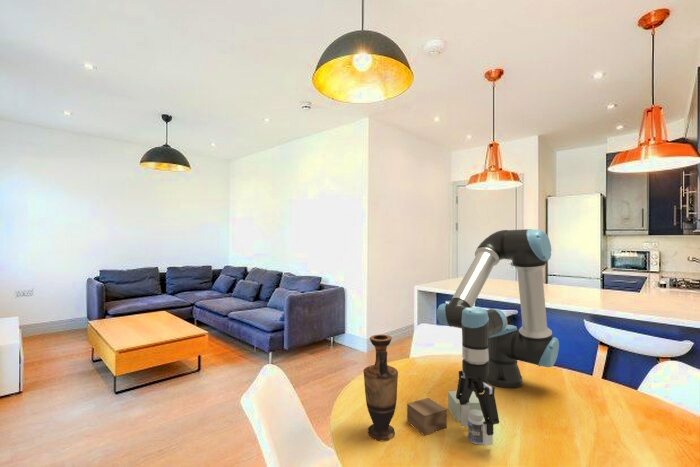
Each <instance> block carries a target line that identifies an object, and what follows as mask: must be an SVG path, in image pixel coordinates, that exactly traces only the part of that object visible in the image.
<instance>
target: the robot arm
mask: <svg viewBox="0 0 700 467" xmlns="http://www.w3.org/2000/svg"><path fill="white" fill-rule="evenodd" d="M551 244H552V243H551V241H550V237H549V236H548V235H547V233H546V232H545V231H544V230H542V229H532V228H530V229H529V228H527V229H525V228H524V229H502V230H497V231H495V232H493V233H491V234H490V235H489V236H487V237H486V238H484V240H482V241H481V242H480V244H479V245H478V246H477V247H476V250H475V251H474V256H475V257H474V258H473V260H472V262H471V264H470V266H469V268H468V269H467V271H466V273H465V274H464V276H463V278H462V280H461V282H459V285H458V287H457V288H456V289H455V292H454V294H453V296H452V298H451V299H450V301H449V302H448V303H447V302H446V303H441V304H439V305H438V308H437V309H436V319H437V321H438V323H439V324H442V325H445V326H447V327H451V328H457V329H461V337H462V338H461V339H462V340H461V341H462V342H461V346H462V349H461V350H462V351H461V353H462V356H461V357H462V361H461V364H462V370H459V371H458V381H457V388H456V391H457V393H456V398H457V399H459V402H460V404H461V421H460V424H461V427H468V417H469V411H470V404H467V403H469V399H470V397H471V394H472V392H474V393H475V395H476V397H477V398H478V400H479V403H480V406H481V410H482V413H483V419H484V422H483V444H482V445H483V446H484V447H486V446H491V445H493V444H494V438H493V437H494V436H493V435H494V425H498V424H500V418H499V414H498V413H499V412H498V408H497V402H496V396H495V387H494V386H496V387H499V388H500V387H501V388H504V389H505V388H506V389H508V388H509V389H512V388H513V389H514V388H519V387H521V386H523V377H522V374H521V371H520V367H519V365H518V361H519V362H523V363H528V364H532V365H536V366H538V367H544V368H551V367H553V366H554V364H556V361H557V359H558V355H559V351H560V350H559V349H560V341H559V339H558V338H557V337H555V336H554V337H553V331H552V329H550V328H549V327H548V322H547V310H546V308H547V307H546V299H545V289H544V287H545V286H544V276H543V268H544V267H545V266H546V265H547V261H549V260H550V259H551V256H552V245H551ZM502 260H511V264H512V266H513V267H514V268H515V269H516V271H517V272H516V273H517V281H518V294H519V302H520V313H521V327H520V328H519V329H518V328H517V325H514V324H508V318H507V316H506V314H505V313H504V312H503V311H502V310H501V309H498V308H489V309H485V308H482V307H474V305H475V303H476V301H477V298H478V297H479V295H480V293H481V291H482V289H483V287H484V285H485V283H486V281H487V280H488V277H489V276H490V273H491V272H492V270H493V268H494V266H497V265H498V264H499V262H500V261H502ZM489 384H491V385H489ZM460 394H461V395H460Z"/></svg>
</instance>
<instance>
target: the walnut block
mask: <svg viewBox="0 0 700 467" xmlns="http://www.w3.org/2000/svg"><path fill="white" fill-rule="evenodd" d="M447 410H448V409H447V408H445V407H444V406H443V405H441V404H439V403H437V402H436V401H434V400H433V399H432V398H429V397H426V398H423V399H419V400H415V401H412V402H408V403H406V414H407V416H406V418H407V420H406V421H408V422H409V423H408V422H407V423H408V424H409V425H411V424H412V425H413V426H414V427H413V426H412V425H411V426H412V427H413V428H415V429H416V430H417V429H418V430H419V431H418V430H417V431H418V432H419V433H421V434H422V433H423V434H424V436H427V434H428V435H431V434H434V433H436V431H437V432H439V431H443V430H445V429H447V428H448V412H447ZM433 432H434V433H433ZM430 433H431V434H430ZM423 434H422V435H423Z"/></svg>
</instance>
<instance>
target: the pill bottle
mask: <svg viewBox="0 0 700 467" xmlns="http://www.w3.org/2000/svg"><path fill="white" fill-rule="evenodd" d="M484 421H485V420H484V416H483V413H482V412H481V411H480V410H476V409H471V410H470V411H469V417H468V426H467V438H468V440H469V442H471V443H472V444H475V445H483V422H484Z"/></svg>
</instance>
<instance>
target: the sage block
mask: <svg viewBox="0 0 700 467" xmlns="http://www.w3.org/2000/svg"><path fill="white" fill-rule="evenodd" d="M456 393H457V390H450V391H449V390H448V391H447V408H448V409H447V410H449V412H450V414H451V415H452V417H453V418H454V420H455V419H456V420H455V421H456V422H461V404H460V402H459V399H457V398H456ZM460 395H461V394H460ZM467 404H470V410H471V409H476V410H480V411H481V412H482V410H481V406H480V403H479V400H478V398H477V397H476V395H475V393H474V391H473V392H472V394H471V397H470V399H469V403H467Z"/></svg>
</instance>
